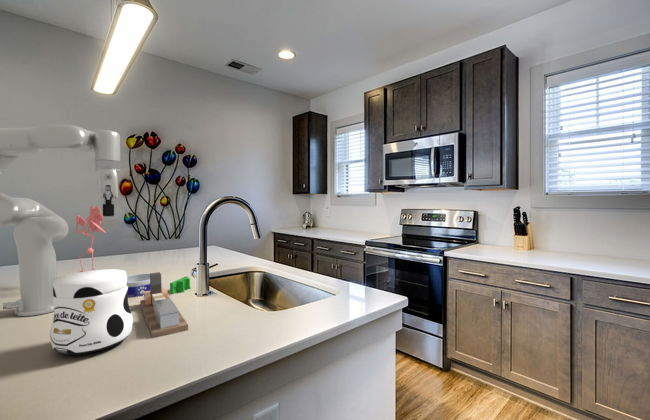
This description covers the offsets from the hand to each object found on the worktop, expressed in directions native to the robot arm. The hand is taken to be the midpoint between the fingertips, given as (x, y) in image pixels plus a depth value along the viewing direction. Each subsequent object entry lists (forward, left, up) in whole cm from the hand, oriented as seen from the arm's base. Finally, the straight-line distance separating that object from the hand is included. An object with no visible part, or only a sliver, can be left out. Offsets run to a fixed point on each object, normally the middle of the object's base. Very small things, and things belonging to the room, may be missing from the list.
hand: (108, 215), depth 114 cm
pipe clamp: (+24, +5, -32) cm, 41 cm away
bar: (+13, -18, -30) cm, 37 cm away
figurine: (-4, +40, -32) cm, 52 cm away
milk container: (-5, -35, -32) cm, 47 cm away
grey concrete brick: (+13, -31, -30) cm, 45 cm away
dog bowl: (+9, +13, -32) cm, 36 cm away
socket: (+13, -9, -30) cm, 34 cm away
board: (+13, -22, -32) cm, 41 cm away
